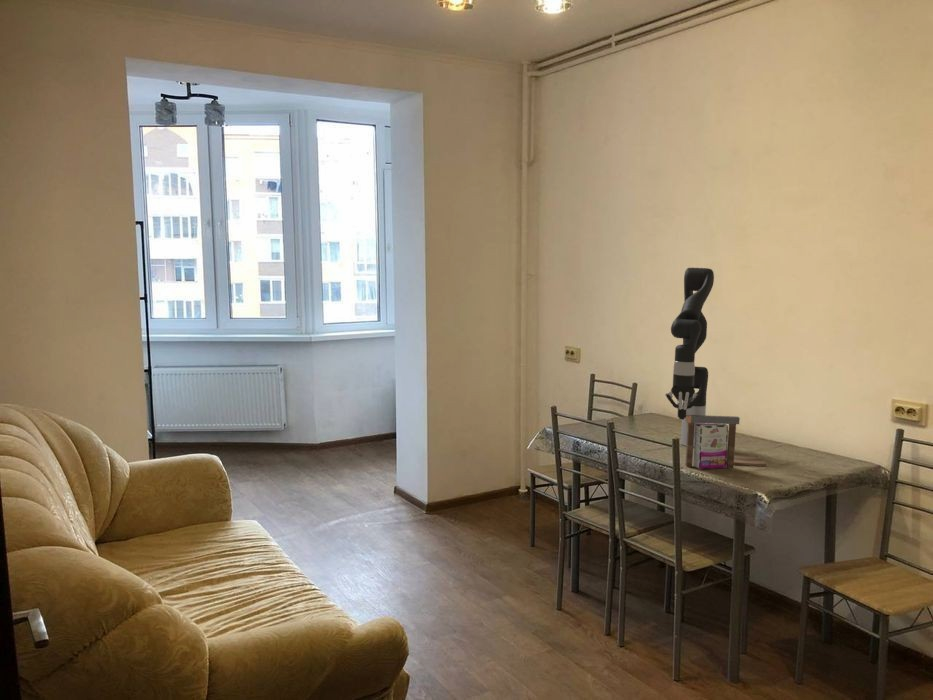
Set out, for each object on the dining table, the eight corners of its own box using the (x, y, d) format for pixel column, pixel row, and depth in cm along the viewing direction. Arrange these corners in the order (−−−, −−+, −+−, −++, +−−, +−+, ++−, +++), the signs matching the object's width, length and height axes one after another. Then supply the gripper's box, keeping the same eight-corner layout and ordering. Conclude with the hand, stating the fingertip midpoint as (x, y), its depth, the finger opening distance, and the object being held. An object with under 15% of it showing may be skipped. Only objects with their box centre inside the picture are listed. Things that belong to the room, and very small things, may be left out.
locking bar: (685, 421, 266) (685, 414, 266) (737, 423, 264) (738, 416, 264) (686, 422, 264) (686, 415, 264) (739, 424, 262) (739, 417, 262)
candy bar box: (719, 464, 270) (721, 422, 268) (726, 468, 265) (729, 425, 263) (692, 465, 268) (694, 423, 266) (699, 469, 263) (701, 426, 261)
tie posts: (685, 465, 268) (687, 421, 266) (731, 467, 267) (734, 423, 265) (686, 466, 266) (688, 422, 264) (733, 468, 265) (736, 424, 263)
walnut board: (715, 456, 282) (715, 453, 281) (756, 458, 280) (756, 455, 280) (722, 464, 270) (723, 462, 270) (766, 466, 268) (766, 463, 268)
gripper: (700, 372, 266) (697, 417, 268) (663, 371, 268) (661, 416, 270) (704, 375, 259) (702, 421, 261) (667, 374, 260) (665, 420, 262)
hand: (681, 419), depth 265 cm, fingers closed
